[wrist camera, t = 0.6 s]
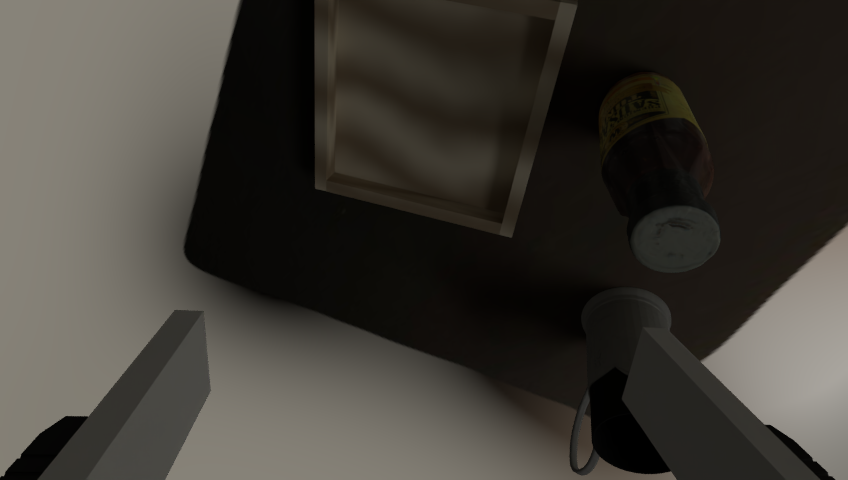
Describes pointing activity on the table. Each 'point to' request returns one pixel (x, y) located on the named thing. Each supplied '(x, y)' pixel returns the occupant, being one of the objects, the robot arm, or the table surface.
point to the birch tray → (435, 102)
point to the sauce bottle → (658, 172)
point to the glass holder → (616, 379)
